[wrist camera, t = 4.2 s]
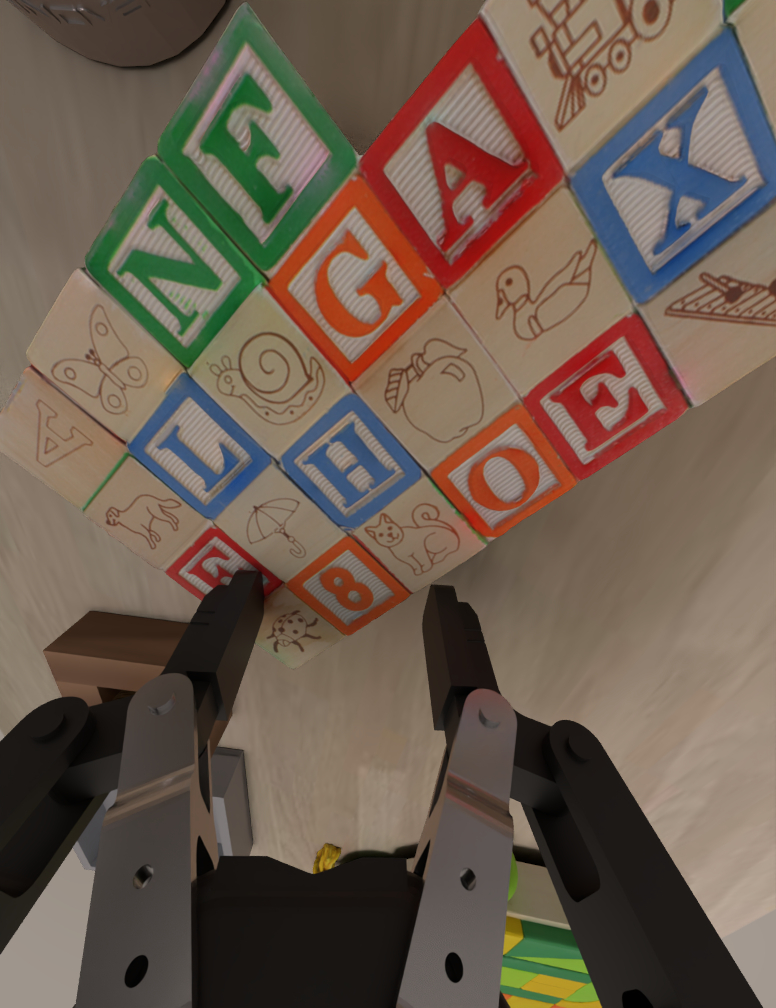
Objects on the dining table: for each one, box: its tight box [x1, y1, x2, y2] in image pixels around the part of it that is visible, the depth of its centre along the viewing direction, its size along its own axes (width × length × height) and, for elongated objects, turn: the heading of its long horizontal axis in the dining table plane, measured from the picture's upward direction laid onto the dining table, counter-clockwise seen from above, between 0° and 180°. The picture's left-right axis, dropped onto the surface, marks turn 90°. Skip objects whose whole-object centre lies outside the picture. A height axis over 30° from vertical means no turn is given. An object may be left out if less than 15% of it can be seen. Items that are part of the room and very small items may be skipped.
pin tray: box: [73, 747, 253, 871], centre depth 28 cm, size 14×13×3 cm
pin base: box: [43, 611, 232, 758], centre depth 21 cm, size 8×8×3 cm
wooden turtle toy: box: [313, 844, 602, 1008], centre depth 31 cm, size 22×28×6 cm
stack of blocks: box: [0, 0, 776, 669], centre depth 11 cm, size 21×6×12 cm
